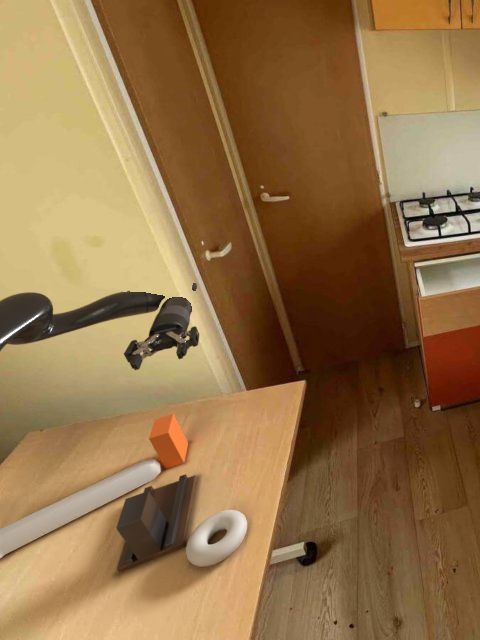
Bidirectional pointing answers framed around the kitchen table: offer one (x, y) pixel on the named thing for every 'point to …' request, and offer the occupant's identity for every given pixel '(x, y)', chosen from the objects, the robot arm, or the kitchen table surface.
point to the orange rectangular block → (168, 441)
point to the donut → (212, 554)
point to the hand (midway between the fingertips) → (157, 361)
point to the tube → (76, 505)
